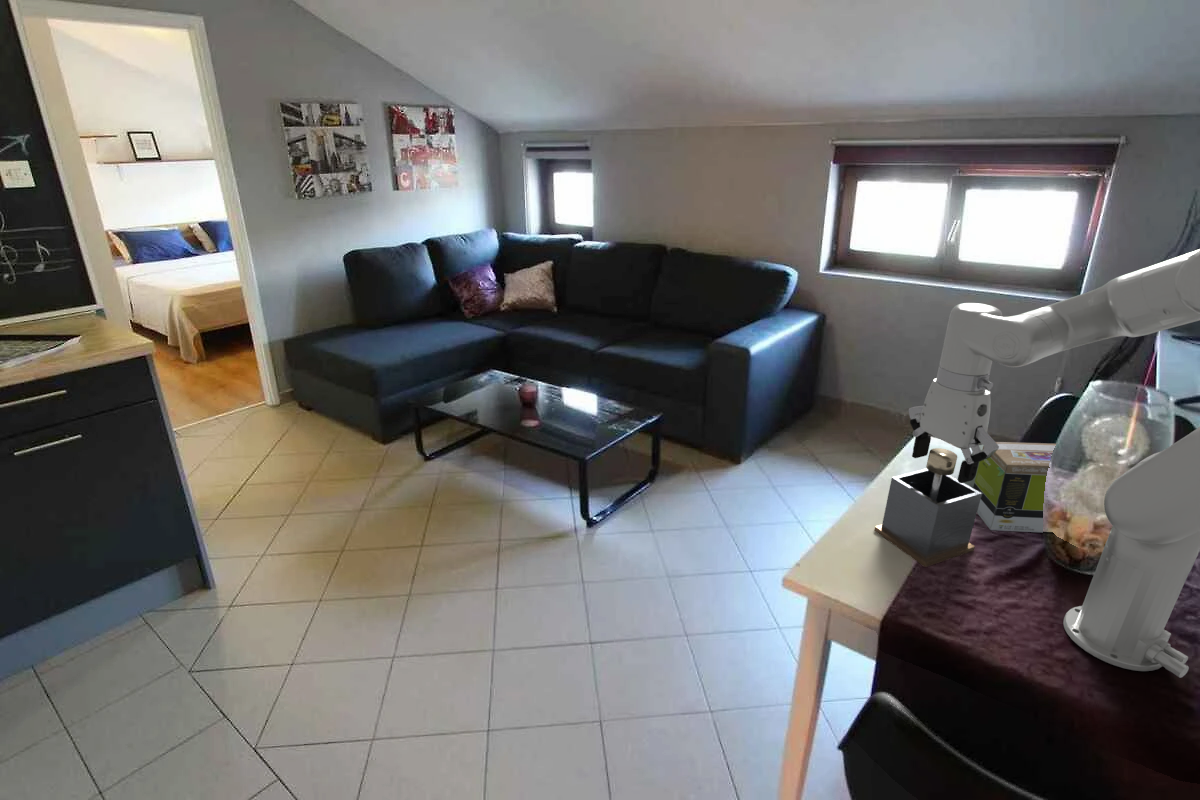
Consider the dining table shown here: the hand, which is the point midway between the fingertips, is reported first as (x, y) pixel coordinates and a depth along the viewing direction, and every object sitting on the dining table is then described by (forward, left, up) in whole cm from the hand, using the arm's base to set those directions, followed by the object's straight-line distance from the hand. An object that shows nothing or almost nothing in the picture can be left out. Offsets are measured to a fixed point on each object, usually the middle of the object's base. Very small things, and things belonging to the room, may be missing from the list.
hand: (941, 468), depth 116 cm
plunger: (0, 0, -14) cm, 14 cm away
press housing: (0, 0, -16) cm, 16 cm away
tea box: (-2, -23, -16) cm, 28 cm away
